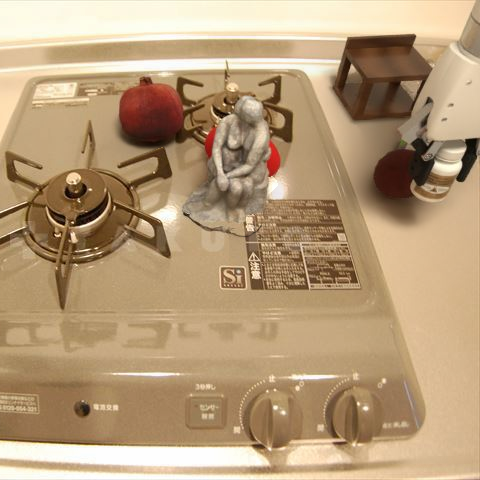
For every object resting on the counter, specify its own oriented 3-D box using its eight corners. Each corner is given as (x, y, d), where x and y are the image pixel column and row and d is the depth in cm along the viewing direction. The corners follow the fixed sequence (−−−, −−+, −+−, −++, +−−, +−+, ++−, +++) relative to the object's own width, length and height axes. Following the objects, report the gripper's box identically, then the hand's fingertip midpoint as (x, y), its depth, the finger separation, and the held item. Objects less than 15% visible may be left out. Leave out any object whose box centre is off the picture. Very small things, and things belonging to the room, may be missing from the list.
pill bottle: (410, 200, 69) (433, 152, 63) (408, 178, 72) (430, 129, 66) (447, 206, 68) (474, 158, 62) (444, 183, 71) (468, 134, 65)
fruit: (110, 148, 88) (98, 84, 84) (155, 132, 94) (145, 72, 90) (156, 152, 80) (144, 82, 76) (201, 134, 86) (192, 69, 82)
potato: (430, 198, 80) (450, 160, 74) (392, 216, 77) (410, 178, 72) (393, 170, 84) (409, 132, 79) (355, 185, 81) (370, 147, 76)
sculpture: (182, 80, 67) (269, 71, 70) (170, 194, 79) (244, 182, 82) (217, 130, 59) (312, 117, 63) (198, 247, 72) (278, 231, 75)
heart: (210, 98, 77) (214, 139, 86) (194, 128, 76) (199, 166, 85) (290, 123, 74) (285, 163, 83) (274, 155, 72) (271, 192, 81)
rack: (395, 84, 101) (414, 33, 93) (420, 116, 94) (443, 63, 87) (332, 88, 99) (347, 36, 92) (353, 120, 93) (371, 67, 85)
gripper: (558, 14, 58) (482, 151, 71) (406, 25, 56) (358, 163, 70) (607, 50, 53) (515, 190, 66) (441, 63, 51) (382, 204, 65)
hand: (435, 175), depth 68 cm, fingers closed on pill bottle, 4 cm apart
